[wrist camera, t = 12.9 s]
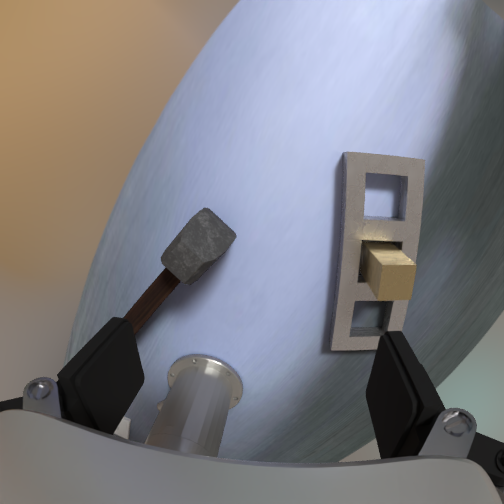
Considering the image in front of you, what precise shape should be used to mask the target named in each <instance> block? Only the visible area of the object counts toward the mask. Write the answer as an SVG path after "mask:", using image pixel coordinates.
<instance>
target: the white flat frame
mask: <svg viewBox="0 0 504 504" xmlns="http://www.w3.org/2000/svg"><path fill="white" fill-rule="evenodd" d="M424 171H425V160H423V159H415V158H408V157H399V156H390V155H381V154H370V153H358V152H343V188H342V211H341V229H340V243H339V256H338V268H337V279H336V288H335V298H334V307H333V315H332V323H331V330H330V338H329V343H330V348H331V350H374V349H377V347H378V342H379V338H380V336H381V335H384V334H385V332H386V331H401V332H402V328H403V324H404V319H405V315H406V310H407V306H408V301H409V300H390V301H387V303H386V309H385V314H384V319H383V324H382V327H357V328H351V323H352V316H353V310H354V303H355V301H377V299H376V297H375V296H374V294H373V292H372V291H371V289H370V287H369V286H368V284H367V282H366V281H365V279H364V277H363V276H358V272H359V263H360V253H361V243H362V240H378V241H396V244H395V246H396V247H397V248H398V249H399V250H400V251H401V252H403V253H404V254H405V255H406V256H407V257H408V258H409V259H411V260H412V261H413V262H414V263H416V256H417V249H418V242H419V234H420V225H421V215H422V204H423V190H424ZM366 172H367V173H379V174H390V175H401V184H400V201H399V214H398V218H397V217H379V216H364V202H365V180H366Z"/></svg>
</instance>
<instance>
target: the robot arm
mask: <svg viewBox="0 0 504 504" xmlns="http://www.w3.org/2000/svg"><path fill="white" fill-rule="evenodd" d="M57 376H58V378H59V380H58V381H57V382H55V381H54V380H53V379H51V378H48V377H40V378H36V379H34V380H32V381H30V382H29V383H28V384H27V385H26V386H25V388H24V391H23V397H19V398H15V399H11V400H6V401H2V402H0V504H504V443H502V442H500V441H497V440H495V439H492V438H490V437H487V436H485V435H482V434H480V433H477V432H476V428H477V424H476V420H475V418H474V417H473V416H472V415H471V414H470V413H469V412H468V411H466V410H464V409H460V408H449V409H445V407H444V405H443V403H442V401H441V399H440V397H439V395H438V393H437V391H436V389H435V387H434V385H433V384H432V382H431V380H430V378H429V376H428V374H427V372H426V371H425V369H424V367H423V366H422V364H420V363H419V361H418V359H417V357H416V356H415V354H414V352H413V350H412V349H411V347H410V345H409V343H408V342H407V340H406V338H405V336H404V335H403V333H402V332H401V331H386V332H385V334H384V335H381V336H380V338H379V342H378V347H377V351H376V355H375V359H374V363H373V367H372V371H371V374H370V378H369V382H368V385H367V389H366V400H367V404H368V407H369V411H370V415H371V419H372V423H373V427H374V431H375V435H376V440H377V444H378V448H379V452H380V457H381V459H377V460H367V461H355V462H336V463H272V462H256V461H243V460H233V459H224V458H217V455H218V451H219V447H220V443H221V439H222V435H223V431H224V427H225V423H226V419H227V415H228V410H229V409H231V408H233V407H234V406H236V405H237V404H238V403H239V401H240V399H241V397H242V392H243V384H242V381H241V378H240V377H239V375H238V374H237V372H236V371H235V370H234V369H233V368H232V367H231V366H229V365H228V364H227V363H225V362H223V361H221V360H220V359H217V358H215V357H212V356H207V355H201V354H192V355H187V356H183V357H181V358H179V359H177V360H176V361H175V362H174V363H173V364H172V366H171V368H170V370H169V372H168V383H169V386H170V388H171V389H170V391H169V393H168V395H167V398H166V399H165V400H163V401H161V402H159V403H158V404H157V408H158V410H159V411H160V412H159V414H158V416H157V418H156V420H155V422H154V424H153V426H152V429H151V431H150V433H149V435H148V437H147V439H146V441H145V443H144V444H143V443H139V442H135V441H131V440H128V439H124V438H121V437H117V436H114V435H113V434H114V432H115V430H116V429H117V427H118V425H119V424H120V422H121V420H122V418H123V417H124V415H125V413H126V412H127V410H128V408H129V407H130V405H131V403H132V402H133V400H134V398H135V397H136V395H137V393H138V392H139V390H140V388H141V387H142V385H143V383H144V373H143V369H142V365H141V361H140V357H139V352H138V348H137V344H136V339H135V335H134V330H133V326H132V324H131V323H129V321H128V320H127V319H125V318H118V317H113V318H111V319H110V320H109V321H108V322H107V323H106V324H105V325H104V326H103V327H102V328H101V329H100V330H99V332H98V333H97V334H96V335H95V336H94V337H93V338H92V339H91V340H90V341H89V342H88V343H87V344H86V345H85V346H84V347H83V348H82V349H81V350H80V351H79V352H78V353H77V354H76V355H75V356H74V357H73V358H72V359H71V360H70V361H69V362H68V363H67V365H66V366H65V367H64V368H63V369H62V370H61V371H60V372H59V373H58V374H57Z"/></svg>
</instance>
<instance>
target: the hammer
mask: <svg viewBox="0 0 504 504" xmlns="http://www.w3.org/2000/svg"><path fill="white" fill-rule="evenodd" d="M235 239H236V233H235V232H234V231H233V230H232V229H231V228H229V227H228V226H227V225H226V224H225V223H224V222H223V221H222V220H221V219H220V218H219V217H218V216H217V215H215V214H214V213H213V212H212V211H211V210H210V209H208V208H203V209H202V210H200V211H199V212H198V213H197V214H196V215H194V216H193V217H192V218H191V219H190V221H189V222H188V223H187V224H186V225H185V227H184V228H183V229H182V230H181V231H180V233H179V234H178V235H177V236H176V238H175V239H174V240H173V241H172V242H171V244H170V245H169V246H168V247H167V249H166V250H165V251H164V253H163V255H162V257H161V261H162V264H163V265H164V266H165V267H166V268H165V269H164V270H163V271H162V273H161V274H160V275H159V276H158V277H157V278H156V279H155V281H154V282H153V283H152V284H151V285H150V286H149V288H148V289H147V290H146V291H145V292H144V294H143V295H142V296H141V297H140V298H139V299H138V301H137V302H136V303H135V304H134V305H133V307H132V308H131V309H130V310H129V311H128V313H127V314H126V315H125V316H124V317H123V318H125V319H127V320H128V321H129V323H131V324H132V326H133V330H134V335H135V334H136V333H137V332H138V331H139V329H140V328H141V327H142V326H143V325H144V323H145V322H146V321H147V320H148V319H149V318H150V316H151V315H152V314H153V313H154V312H155V311H156V309H157V308H158V307H159V306H160V305H161V304H162V302H163V301H164V300H165V299H166V298H167V297H168V295H169V294H170V293H171V292H172V291H173V290H174V289H175V287H176V286H177V285H178V284H179V283H180V282H182V283H184V284H188V285H191V284H192V283H194V282H195V281H197V280H198V279H199V278H200V277H201V276H202V275H203V274H204V273H205V272H206V271H207V270H208V269H209V268H210V267H211V266H212V265H213V264H214V263H215V262H216V260H217V259H218V258H219V257H220V256H221V255H222V254H223V253H224V252H225V251H226V250H227V249H228V248H229V247H230V245H231V244H232V243H233V241H234V240H235Z"/></svg>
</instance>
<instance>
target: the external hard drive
mask: <svg viewBox="0 0 504 504" xmlns="http://www.w3.org/2000/svg"><path fill="white" fill-rule="evenodd" d="M130 424H131V419H129V418H126V417H123V418H122V420H121V422H120V424H119V425H118V427H117V429H116V430H115V432H114V433H115V434H117V435H119V436H121V437H123V438H125V439H129V433H130Z"/></svg>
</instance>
